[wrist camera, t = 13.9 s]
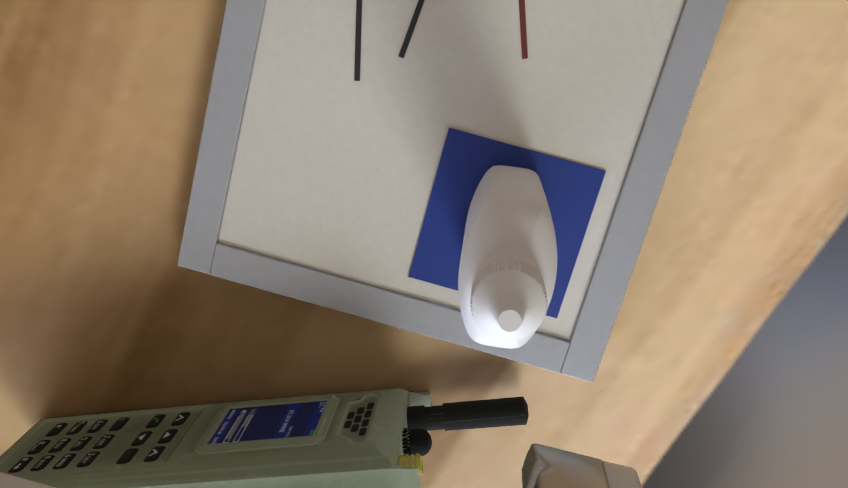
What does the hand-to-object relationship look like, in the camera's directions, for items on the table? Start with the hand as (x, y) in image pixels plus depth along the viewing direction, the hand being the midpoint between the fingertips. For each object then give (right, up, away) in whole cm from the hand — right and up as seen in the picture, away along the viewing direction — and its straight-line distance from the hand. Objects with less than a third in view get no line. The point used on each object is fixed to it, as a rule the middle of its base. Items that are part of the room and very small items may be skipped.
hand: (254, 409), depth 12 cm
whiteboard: (+3, +8, +23) cm, 25 cm away
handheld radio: (-5, -6, +28) cm, 29 cm away
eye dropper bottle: (+6, +3, +24) cm, 24 cm away
